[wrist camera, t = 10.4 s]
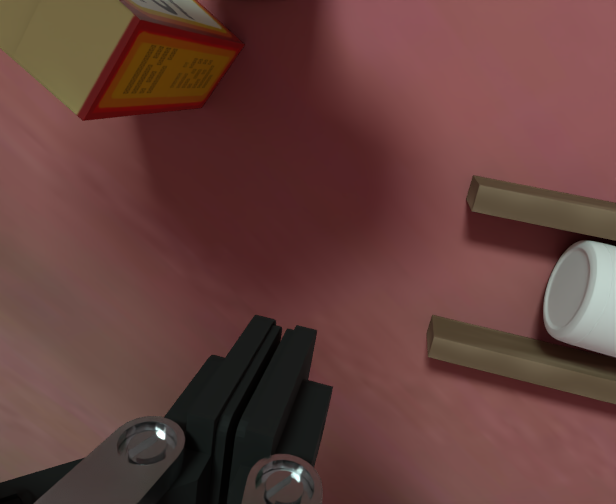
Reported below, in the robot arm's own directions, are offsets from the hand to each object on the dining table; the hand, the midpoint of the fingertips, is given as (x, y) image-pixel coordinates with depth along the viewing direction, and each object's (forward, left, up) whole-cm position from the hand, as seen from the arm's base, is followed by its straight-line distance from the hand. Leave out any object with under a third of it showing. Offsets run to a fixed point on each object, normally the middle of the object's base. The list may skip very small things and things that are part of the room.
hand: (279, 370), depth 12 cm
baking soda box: (-8, -18, -29) cm, 35 cm away
